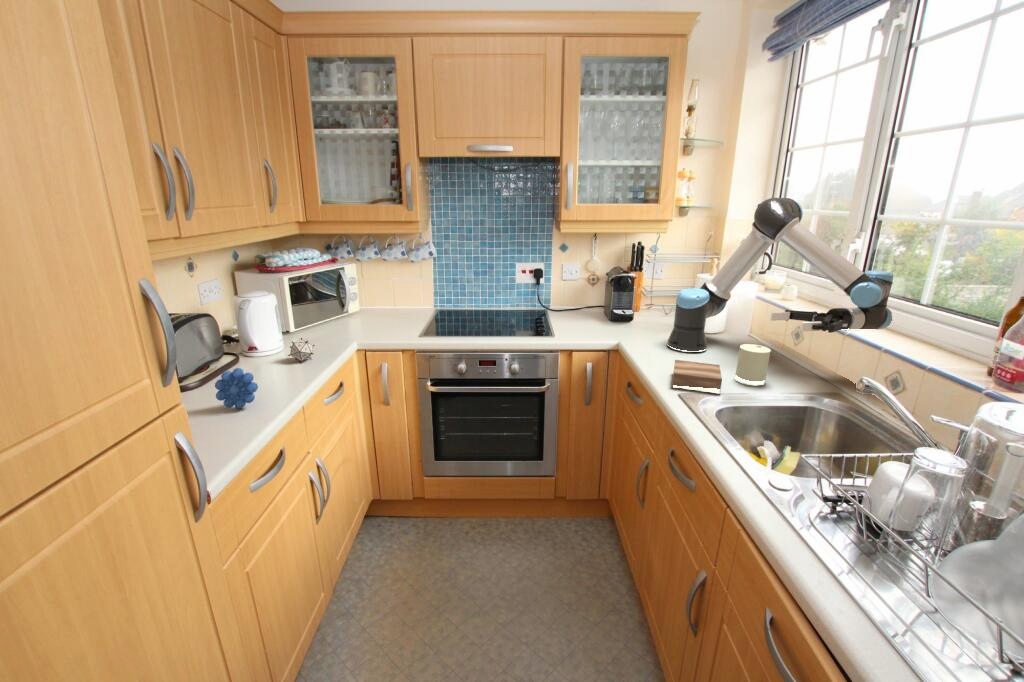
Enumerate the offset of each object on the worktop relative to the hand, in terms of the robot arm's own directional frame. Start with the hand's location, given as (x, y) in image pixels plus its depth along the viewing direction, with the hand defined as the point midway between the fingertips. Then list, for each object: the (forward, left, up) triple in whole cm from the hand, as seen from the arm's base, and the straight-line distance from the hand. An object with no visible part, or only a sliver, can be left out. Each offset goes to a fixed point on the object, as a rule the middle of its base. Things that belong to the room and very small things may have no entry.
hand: (785, 321), depth 151 cm
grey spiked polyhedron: (+44, -158, -20) cm, 165 cm away
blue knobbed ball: (+81, -145, -20) cm, 167 cm away
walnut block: (+14, -25, -20) cm, 35 cm away
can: (+5, -8, -20) cm, 22 cm away
